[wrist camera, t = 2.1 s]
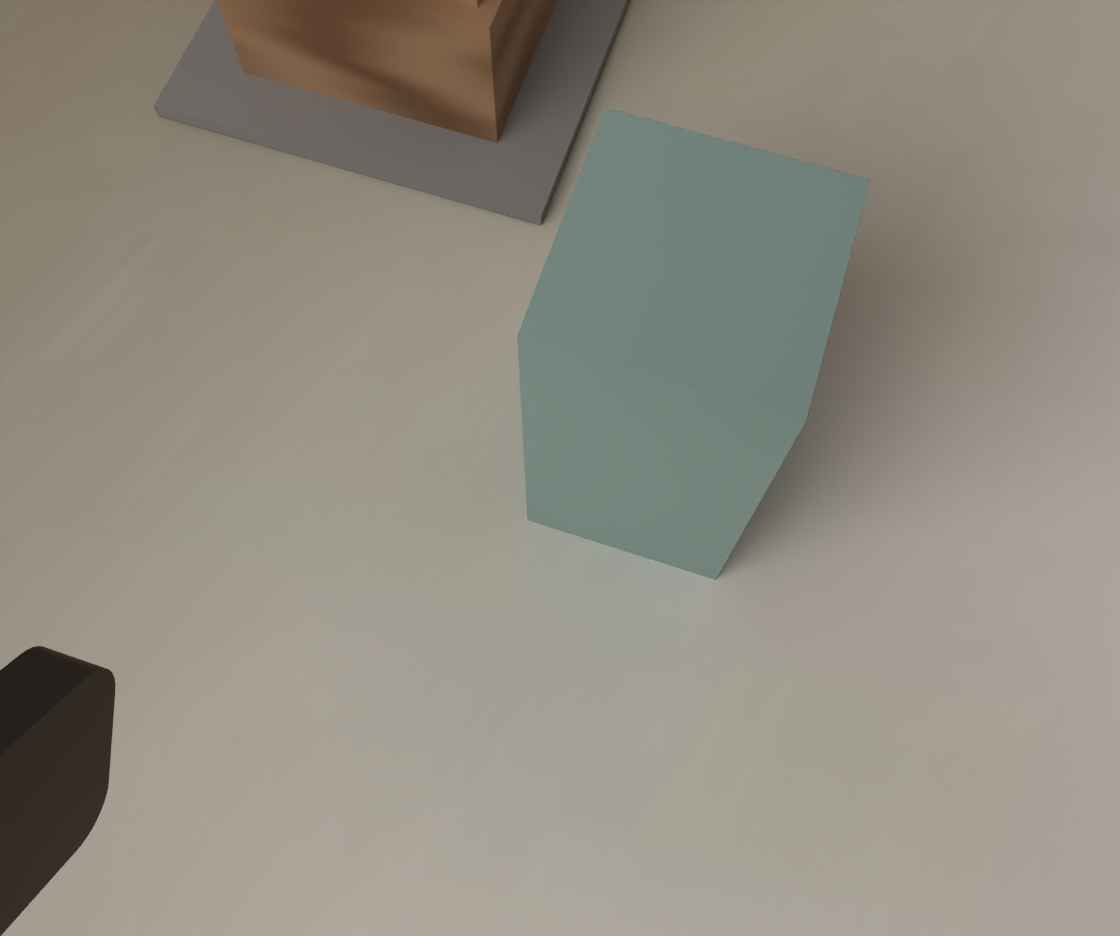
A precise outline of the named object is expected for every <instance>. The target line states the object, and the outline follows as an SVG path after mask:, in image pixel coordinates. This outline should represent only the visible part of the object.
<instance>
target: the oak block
mask: <svg viewBox="0 0 1120 936" xmlns="http://www.w3.org/2000/svg"><path fill="white" fill-rule="evenodd" d="M448 1H452V2H455V3H459V4H463V5H467V6H470V7H474V8H478V6H479V4H480V2H481V0H448Z"/></svg>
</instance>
